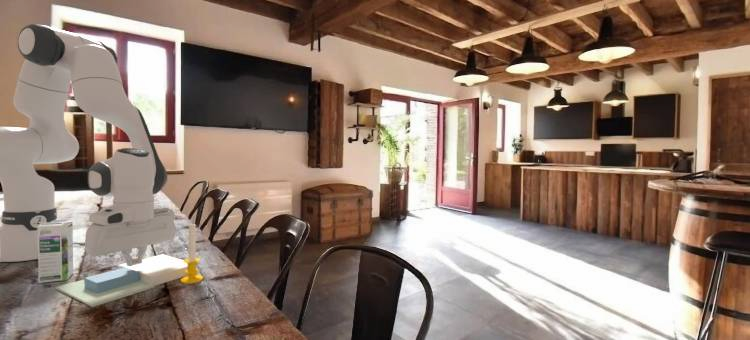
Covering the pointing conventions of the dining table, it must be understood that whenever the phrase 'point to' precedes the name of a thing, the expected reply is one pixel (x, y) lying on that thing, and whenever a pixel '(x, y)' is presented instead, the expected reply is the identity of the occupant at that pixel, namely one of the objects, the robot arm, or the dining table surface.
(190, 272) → the candle
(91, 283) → the tile
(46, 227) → the syrup box
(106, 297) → the mat
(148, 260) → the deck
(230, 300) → the dining table surface
